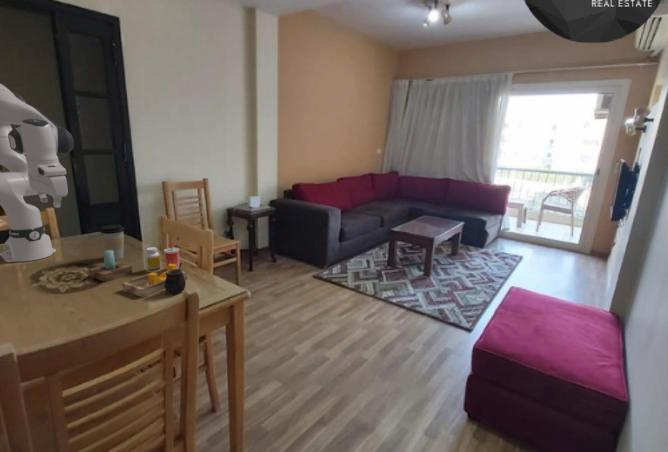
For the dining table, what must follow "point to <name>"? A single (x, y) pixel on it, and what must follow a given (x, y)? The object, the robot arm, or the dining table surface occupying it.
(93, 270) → the socket block
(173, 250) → the beverage cup
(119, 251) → the coffee cup
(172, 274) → the mate gourd
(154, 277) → the pipe clamp
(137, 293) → the clamp corral
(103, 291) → the dining table surface
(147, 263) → the supplement bottle
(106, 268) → the peg
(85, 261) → the dining table surface
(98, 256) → the dining table surface
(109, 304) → the dining table surface
